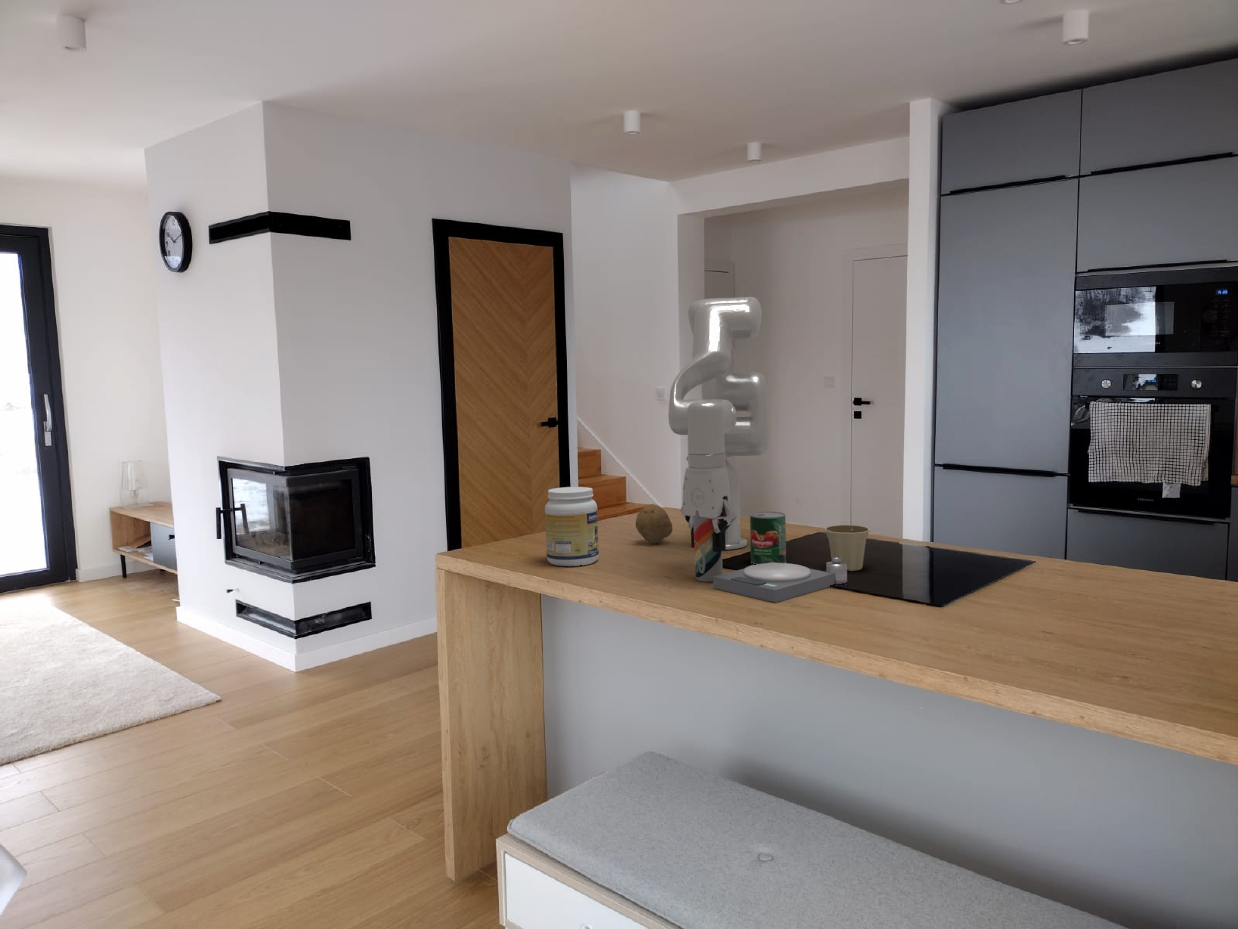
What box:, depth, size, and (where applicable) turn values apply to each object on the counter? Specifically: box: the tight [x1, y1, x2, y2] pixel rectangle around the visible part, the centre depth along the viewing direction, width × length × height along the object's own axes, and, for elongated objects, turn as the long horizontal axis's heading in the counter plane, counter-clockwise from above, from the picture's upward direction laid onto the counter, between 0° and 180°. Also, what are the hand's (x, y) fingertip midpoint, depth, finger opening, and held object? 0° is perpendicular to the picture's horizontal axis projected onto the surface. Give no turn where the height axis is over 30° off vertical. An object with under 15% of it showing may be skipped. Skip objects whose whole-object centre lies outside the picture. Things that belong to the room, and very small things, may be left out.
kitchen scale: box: [712, 562, 835, 604], centre depth 175 cm, size 16×18×3 cm
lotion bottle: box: [693, 510, 724, 583], centre depth 182 cm, size 6×6×20 cm
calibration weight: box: [825, 557, 848, 584], centre depth 177 cm, size 4×4×5 cm
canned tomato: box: [749, 510, 787, 565], centre depth 196 cm, size 8×8×11 cm
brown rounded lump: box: [635, 503, 673, 545], centre depth 223 cm, size 9×9×10 cm
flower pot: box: [824, 524, 871, 572], centre depth 189 cm, size 9×9×9 cm
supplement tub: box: [544, 486, 600, 567], centre depth 204 cm, size 12×12×17 cm
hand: (708, 548), depth 183 cm, fingers closed on lotion bottle, 5 cm apart
